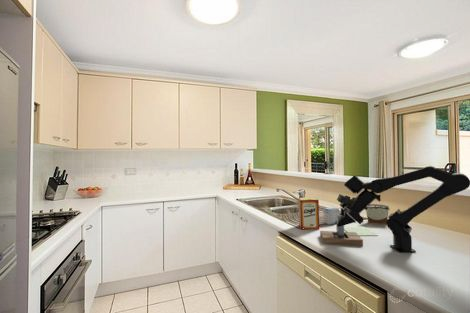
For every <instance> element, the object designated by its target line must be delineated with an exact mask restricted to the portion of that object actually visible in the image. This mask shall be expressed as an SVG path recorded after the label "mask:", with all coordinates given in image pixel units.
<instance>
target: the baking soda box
mask: <svg viewBox="0 0 470 313" xmlns="http://www.w3.org/2000/svg"><path fill="white" fill-rule="evenodd" d="M297 202H298V206H297V207H298V209H297V210H298V227H299V226H300V227H299V229H301V230H320V204H319V199H318V198H316V197H298V198H297ZM303 228H304V229H303Z"/></svg>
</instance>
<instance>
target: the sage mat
mask: <svg viewBox="0 0 470 313" xmlns="http://www.w3.org/2000/svg"><path fill="white" fill-rule="evenodd" d="M344 232H355V233H357V234H358V235H359V236H360V237H379V235H378V234H376V233H375V232H374V231H372V230H370V229H368V228H367V227H365V226H363V225H362V226H361V225H360V226H359V225H358V226H356V225H355V226H353V225H352V226H350V225H349V226H346V225H344Z"/></svg>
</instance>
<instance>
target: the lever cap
mask: <svg viewBox="0 0 470 313" xmlns="http://www.w3.org/2000/svg"><path fill="white" fill-rule="evenodd" d="M342 218H343V215H342V214H340V213H339V214H336V223H335V224H336V225H335V226H336V232H337V235H335V238H345V236H344V232H345V230H344V226H345V225H343V226H340V227H338V226H337V224H338V223H339V221H340V220H341V219H342Z"/></svg>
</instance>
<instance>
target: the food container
mask: <svg viewBox="0 0 470 313" xmlns="http://www.w3.org/2000/svg"><path fill="white" fill-rule="evenodd" d="M366 208H368V209H366V210H365V212H366V213H365V214H366V219H367V224H369V225H370V224H371V225H387V220H388V219H389V218H388V216H389V211H390V210H391V209H390V207H389V205H386V204H379V203H378V204H377V203H371V204H369V205H368V206H367V207H366Z"/></svg>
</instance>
